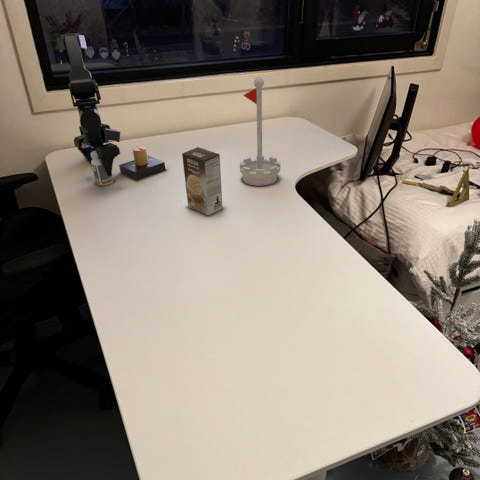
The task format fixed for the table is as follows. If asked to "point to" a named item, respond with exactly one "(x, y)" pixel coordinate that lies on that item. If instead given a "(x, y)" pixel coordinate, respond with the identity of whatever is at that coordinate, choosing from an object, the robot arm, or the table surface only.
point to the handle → (140, 155)
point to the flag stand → (259, 148)
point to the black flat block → (142, 168)
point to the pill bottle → (99, 171)
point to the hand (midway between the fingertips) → (102, 172)
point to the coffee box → (203, 180)
